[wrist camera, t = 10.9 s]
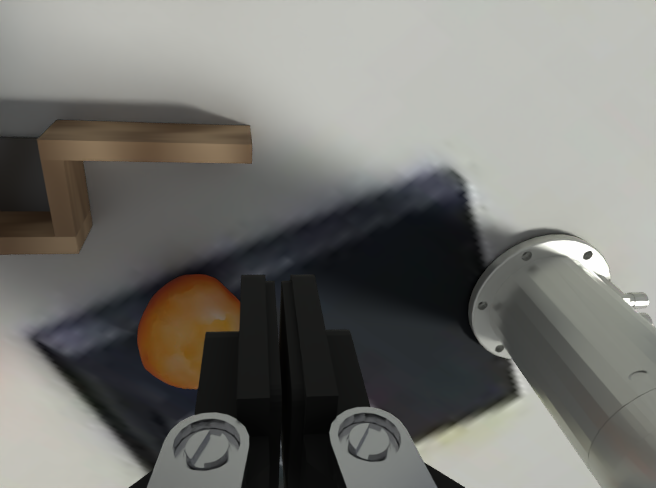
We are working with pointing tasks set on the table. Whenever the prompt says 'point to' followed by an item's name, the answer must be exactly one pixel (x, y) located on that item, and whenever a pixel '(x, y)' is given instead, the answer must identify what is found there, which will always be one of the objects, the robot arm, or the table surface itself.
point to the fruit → (184, 327)
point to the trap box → (69, 176)
